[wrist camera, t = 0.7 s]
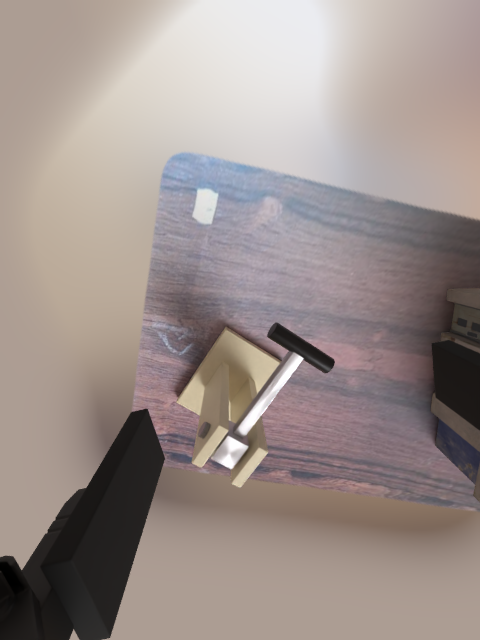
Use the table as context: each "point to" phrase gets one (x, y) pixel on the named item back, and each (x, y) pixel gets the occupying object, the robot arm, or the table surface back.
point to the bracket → (228, 398)
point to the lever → (269, 392)
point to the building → (453, 431)
